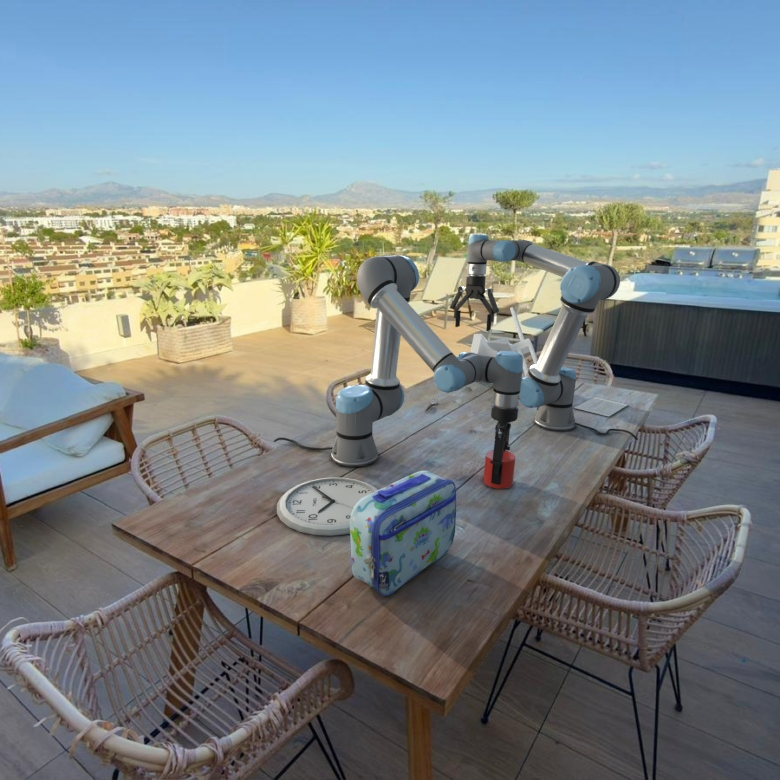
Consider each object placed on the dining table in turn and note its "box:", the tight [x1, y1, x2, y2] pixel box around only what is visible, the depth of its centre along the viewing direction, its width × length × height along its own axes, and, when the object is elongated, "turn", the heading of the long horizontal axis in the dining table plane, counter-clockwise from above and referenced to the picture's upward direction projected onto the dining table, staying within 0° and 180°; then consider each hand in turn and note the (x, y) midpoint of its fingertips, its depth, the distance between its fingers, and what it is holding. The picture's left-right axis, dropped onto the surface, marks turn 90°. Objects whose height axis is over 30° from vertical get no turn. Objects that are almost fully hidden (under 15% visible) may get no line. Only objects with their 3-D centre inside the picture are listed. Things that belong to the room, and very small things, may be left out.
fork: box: [425, 396, 439, 412], centre depth 222 cm, size 3×16×2 cm, turn 160°
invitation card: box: [573, 396, 629, 418], centre depth 226 cm, size 21×1×15 cm
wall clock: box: [276, 476, 380, 537], centre depth 142 cm, size 30×2×30 cm
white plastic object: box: [469, 306, 538, 377], centre depth 258 cm, size 37×45×31 cm
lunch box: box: [349, 470, 457, 597], centre depth 114 cm, size 26×11×21 cm, turn 134°
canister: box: [482, 449, 516, 490], centre depth 156 cm, size 9×9×9 cm
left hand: (498, 476), depth 157 cm, fingers closed on canister, 9 cm apart
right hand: (472, 328), depth 212 cm, fingers open, 13 cm apart
